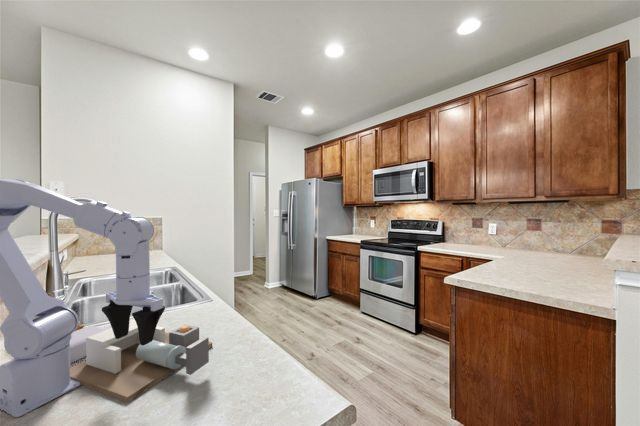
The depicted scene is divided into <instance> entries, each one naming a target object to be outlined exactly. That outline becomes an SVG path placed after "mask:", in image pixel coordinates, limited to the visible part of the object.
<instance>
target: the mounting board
mask: <svg viewBox="0 0 640 426" xmlns="http://www.w3.org/2000/svg"><path fill="white" fill-rule="evenodd" d="M165 343H167V344H169V332H166V331H165ZM139 345H140V344H138V343H136V344H134V345H132V346H130V347H128V348H126V349H124V350H121V371H119V372H117V373H116V374H115V373H112V372H109V371H105V370H102V369H99V368H96V367H93V366H90V365H87V364H86V360H85V361H82V362H80V363H78V364H75V365H73V366H72V367H71V366H70V379H73V380H75V381H78V382H81V385H80V386H82V387H85V388H88V389H90V390H92V391H95V392H99V393H101V394H103V395H107V396H108V397H112V398H114V399H117V400H120V401H122V402H125V403H129V402H130V401H132V400H134V399H135V398H136V397H138V396H139V395H141V394H143V393H145V391H147V390H149V388H151V387H153V386H155V385H156V384H157V383H159V382H161V381H163V379H165V378H167V377H168V376H169V375H171V374H173V373H174V372H176V371H177V370H179V369H180V368H182V367H184V366H183V365H181V366H180V367H179V368H177V369H171V368H167V367H164V366H160V365H157V364H153V363H150V362H146V361H142V360H139V359H137V357H136V350H137V348H138V346H139ZM211 346H212V347H213V342H211V341H209V347H211ZM212 347H211V348H212Z"/></svg>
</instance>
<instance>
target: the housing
mask: <svg viewBox="0 0 640 426" xmlns="http://www.w3.org/2000/svg"><path fill="white" fill-rule="evenodd" d="M182 326H189V327H190V330H189V331H187V332H185V333H180V332H179V328H180V327H182ZM165 332H166V327H164V326H159V325H157V326H156V329H155V333H154V337H153V340H155V341H159V342H163V343H165ZM168 333H169V344H172V345H176V346H178V345H180V346H184V347H185V348H186V347H188V346H189V345H191V344H193V343H194V342H196V341H198V340H200V327H199V326H194V325H189V324H183V325H181V326H179V327H178V328H175V329H174V330H171V331H169V332H168ZM136 343H138V344H140V341H139V332H138V327H137V324H136V321H135V319H134V318H133V319H131V320H129V331H128V335H126V336H124V337H122V338H119V339H116V338H115V336H114V333H113V330H112V328H110V329H108V330H105V331H102V332H100V333H97V334H95V335H92V336H89V337H87V338H86V358H85V359H86V360H85V361H86V364H87V365H90V366H93V367H96V368H99V369H102V370H105V371H109V372H112V373H115V374H116V373H117V372H119V371H121V350H124V349H126V348H128V347H130V346H132V345H134V344H136Z"/></svg>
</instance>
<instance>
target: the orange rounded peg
mask: <svg viewBox="0 0 640 426" xmlns="http://www.w3.org/2000/svg"><path fill="white" fill-rule="evenodd" d="M181 326H182V327H181ZM181 326H179V327H180V328H179V327H178V328H179V332H180V333H185V332H187V331H189V330H190V327H189V326H183V325H181Z"/></svg>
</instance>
